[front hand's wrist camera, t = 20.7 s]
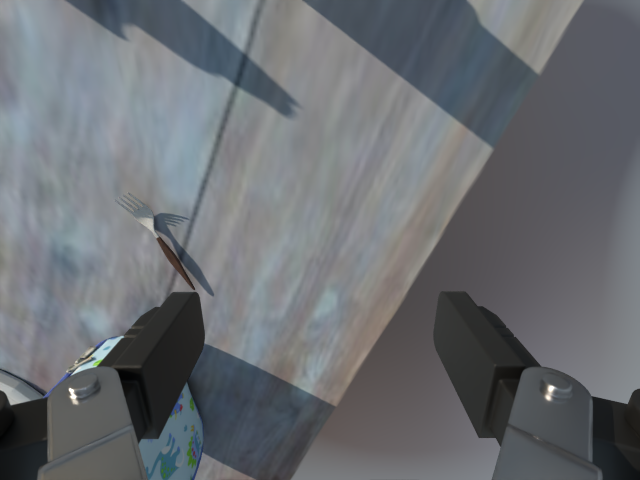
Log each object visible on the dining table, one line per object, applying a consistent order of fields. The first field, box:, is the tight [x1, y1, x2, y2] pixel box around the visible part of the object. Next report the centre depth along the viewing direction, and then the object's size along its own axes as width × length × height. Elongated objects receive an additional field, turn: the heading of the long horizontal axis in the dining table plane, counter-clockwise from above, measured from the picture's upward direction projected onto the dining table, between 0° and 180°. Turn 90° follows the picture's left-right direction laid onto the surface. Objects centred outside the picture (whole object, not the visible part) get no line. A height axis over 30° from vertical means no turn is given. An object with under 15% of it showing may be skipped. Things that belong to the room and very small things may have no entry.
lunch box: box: [43, 336, 204, 480], centre depth 46 cm, size 26×11×21 cm, turn 10°
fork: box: [114, 192, 195, 290], centre depth 46 cm, size 3×16×2 cm, turn 26°
